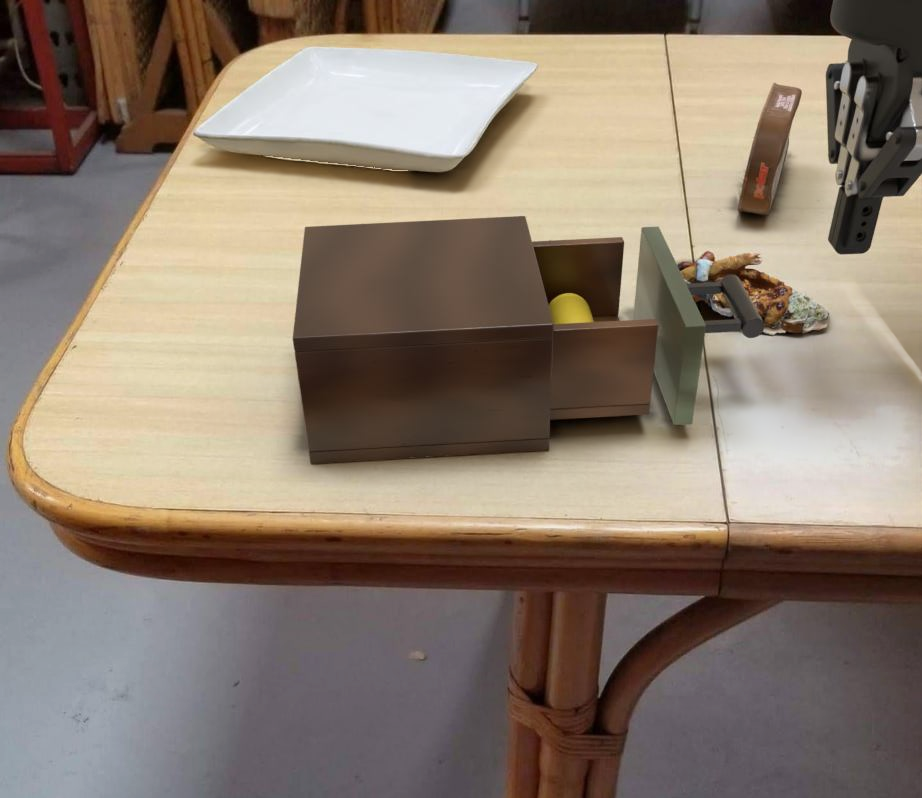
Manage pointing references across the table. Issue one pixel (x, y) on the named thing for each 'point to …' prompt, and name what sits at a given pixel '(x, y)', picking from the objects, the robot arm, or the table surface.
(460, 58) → the square plate
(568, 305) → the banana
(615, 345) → the drawer
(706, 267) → the brown sculpted figurine
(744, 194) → the brown snack box
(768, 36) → the table surface
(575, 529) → the table surface
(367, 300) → the cabinet
